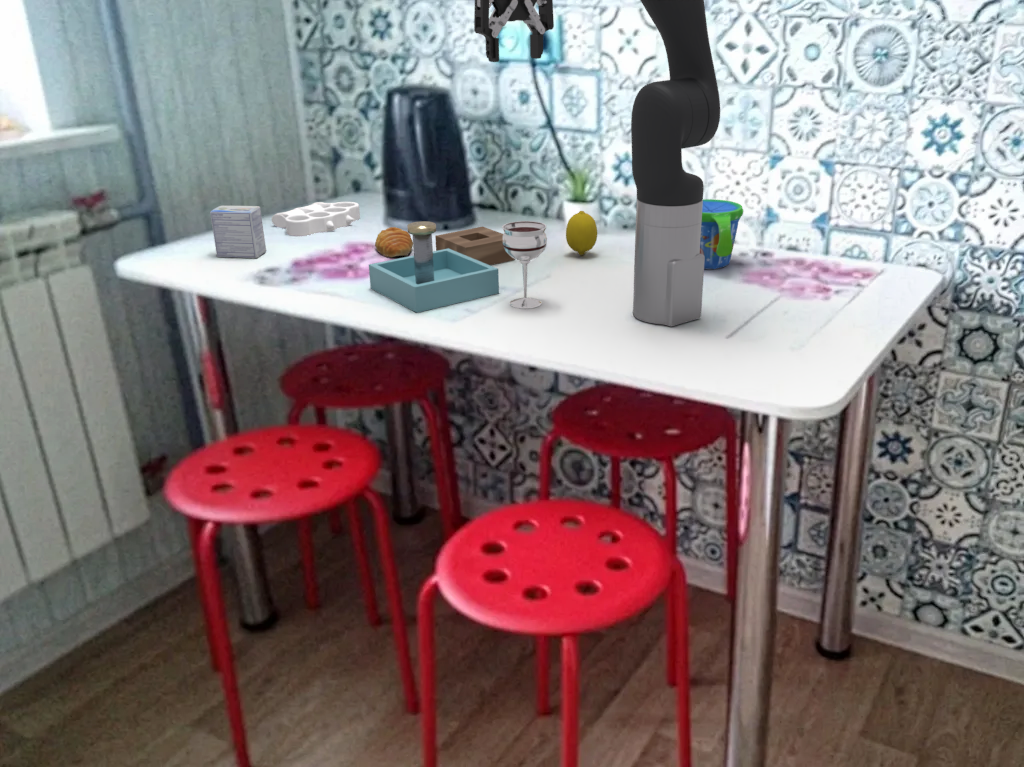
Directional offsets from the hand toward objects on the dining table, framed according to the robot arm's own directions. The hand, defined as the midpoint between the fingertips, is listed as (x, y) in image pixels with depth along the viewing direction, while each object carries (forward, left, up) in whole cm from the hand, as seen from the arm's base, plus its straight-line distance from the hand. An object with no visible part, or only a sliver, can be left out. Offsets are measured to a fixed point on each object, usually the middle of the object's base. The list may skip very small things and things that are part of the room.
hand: (515, 60), depth 160 cm
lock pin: (-9, +24, -32) cm, 41 cm away
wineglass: (-23, +15, -33) cm, 43 cm away
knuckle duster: (+43, +20, -34) cm, 58 cm away
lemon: (-8, -8, -33) cm, 35 cm away
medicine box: (+31, +40, -33) cm, 61 cm away
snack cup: (-26, -21, -33) cm, 47 cm away
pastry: (+16, +16, -34) cm, 40 cm away
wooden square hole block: (+2, +8, -33) cm, 34 cm away
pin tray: (-9, +23, -33) cm, 41 cm away
